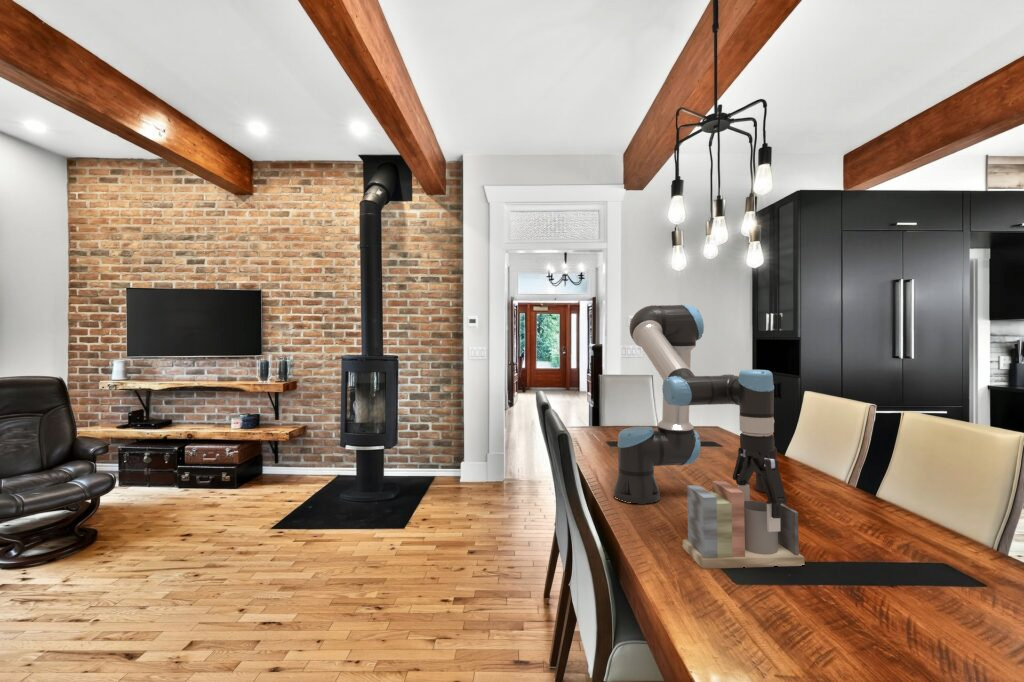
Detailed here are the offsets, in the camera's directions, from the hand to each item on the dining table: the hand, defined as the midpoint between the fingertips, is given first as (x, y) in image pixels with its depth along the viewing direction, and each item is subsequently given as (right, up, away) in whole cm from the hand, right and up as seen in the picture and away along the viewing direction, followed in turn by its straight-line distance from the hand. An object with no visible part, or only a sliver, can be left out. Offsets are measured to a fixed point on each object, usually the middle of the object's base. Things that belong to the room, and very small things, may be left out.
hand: (757, 520), depth 121 cm
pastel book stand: (-4, -9, 0) cm, 10 cm away
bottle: (+29, -9, +52) cm, 60 cm away
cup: (0, -7, 0) cm, 7 cm away
